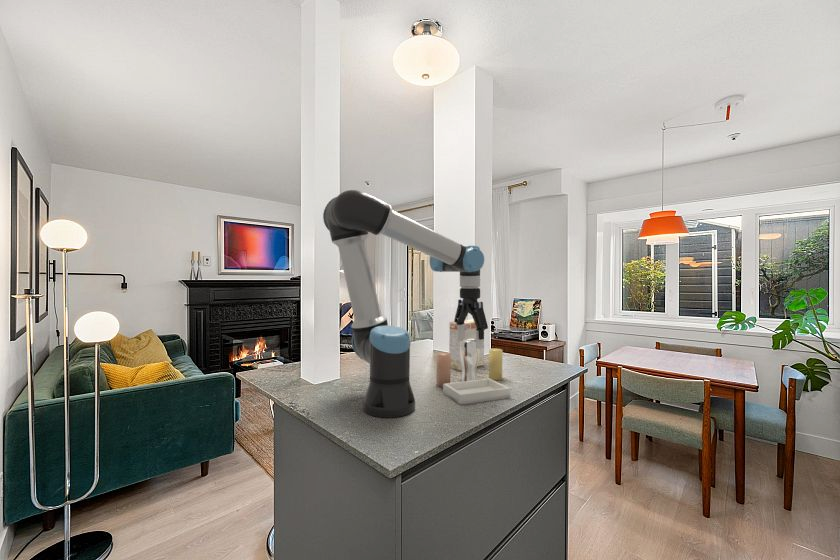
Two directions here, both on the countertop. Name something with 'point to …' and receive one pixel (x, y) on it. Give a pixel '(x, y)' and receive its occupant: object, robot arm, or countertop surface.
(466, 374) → the beer glass
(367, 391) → the robot arm
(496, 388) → the tray
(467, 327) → the coffeecake box
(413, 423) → the countertop surface
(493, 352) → the mustard canister
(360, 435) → the countertop surface
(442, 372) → the terracotta canister
